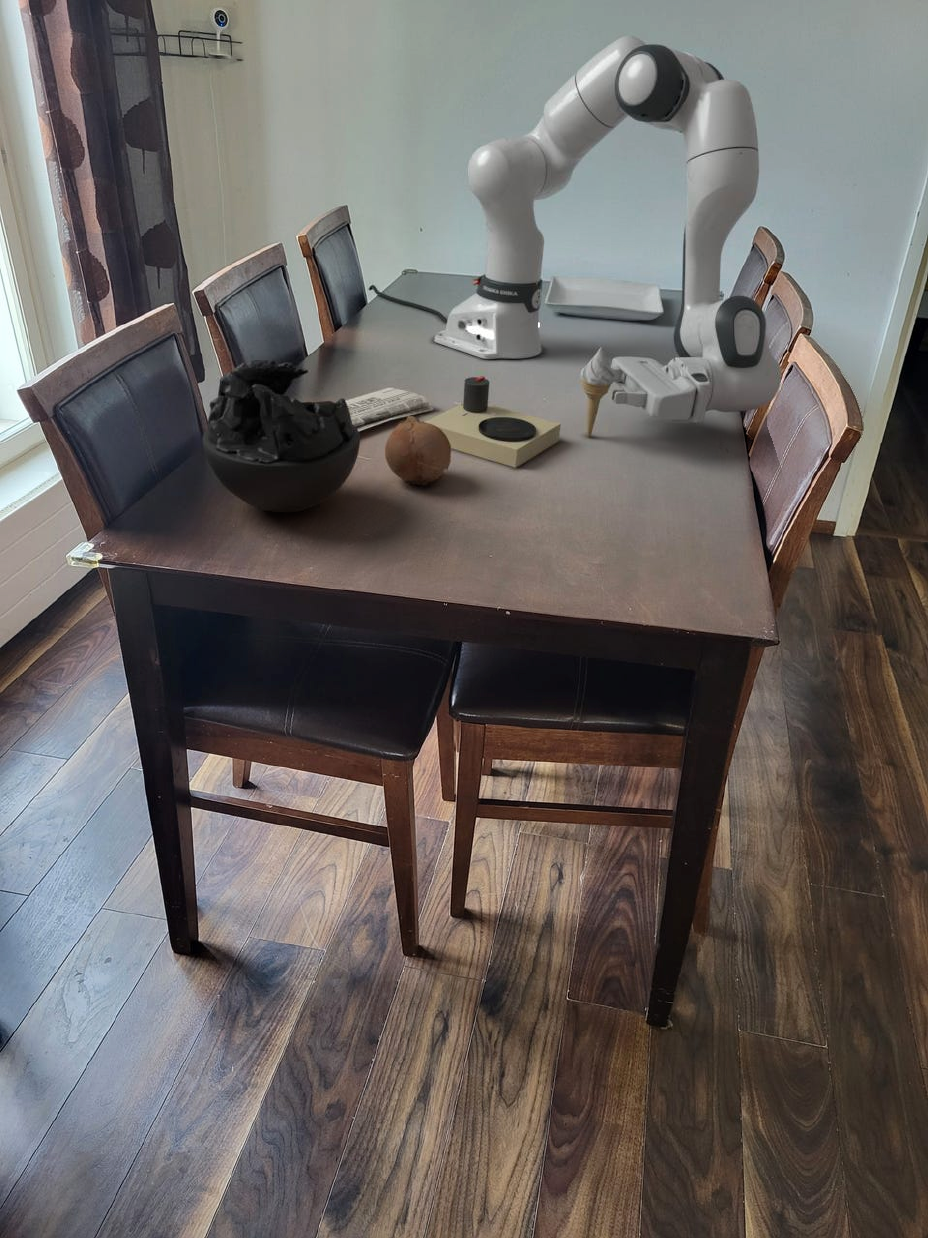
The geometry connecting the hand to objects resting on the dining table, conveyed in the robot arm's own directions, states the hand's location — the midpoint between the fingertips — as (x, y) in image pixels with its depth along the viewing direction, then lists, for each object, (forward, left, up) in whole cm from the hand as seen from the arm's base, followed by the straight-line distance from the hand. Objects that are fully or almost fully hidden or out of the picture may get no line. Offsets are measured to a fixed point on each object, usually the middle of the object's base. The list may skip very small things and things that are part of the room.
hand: (603, 386), depth 148 cm
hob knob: (-18, -10, -5) cm, 21 cm away
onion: (-13, -33, -9) cm, 36 cm away
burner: (-9, -14, -5) cm, 18 cm away
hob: (-12, -13, -8) cm, 20 cm away
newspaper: (-34, -18, -9) cm, 39 cm away
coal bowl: (-22, -51, -9) cm, 56 cm away
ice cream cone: (-1, -1, -9) cm, 9 cm away
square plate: (-36, +78, -9) cm, 86 cm away
